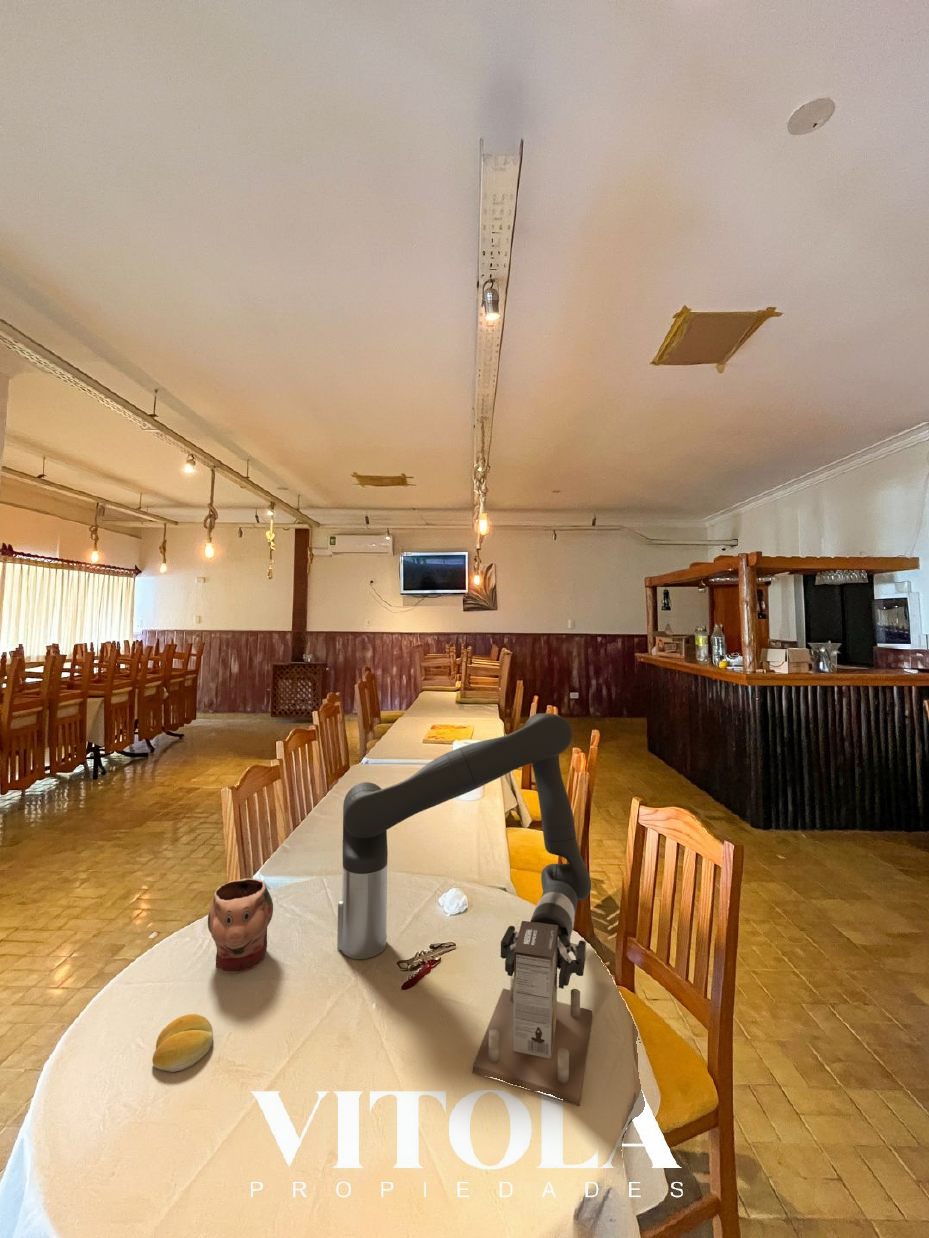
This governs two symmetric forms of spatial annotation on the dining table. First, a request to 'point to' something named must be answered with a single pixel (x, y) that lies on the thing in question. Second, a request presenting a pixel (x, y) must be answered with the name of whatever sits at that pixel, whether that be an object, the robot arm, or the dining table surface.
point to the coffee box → (535, 989)
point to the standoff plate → (533, 1071)
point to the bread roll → (183, 1043)
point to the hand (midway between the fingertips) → (534, 976)
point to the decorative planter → (240, 924)
